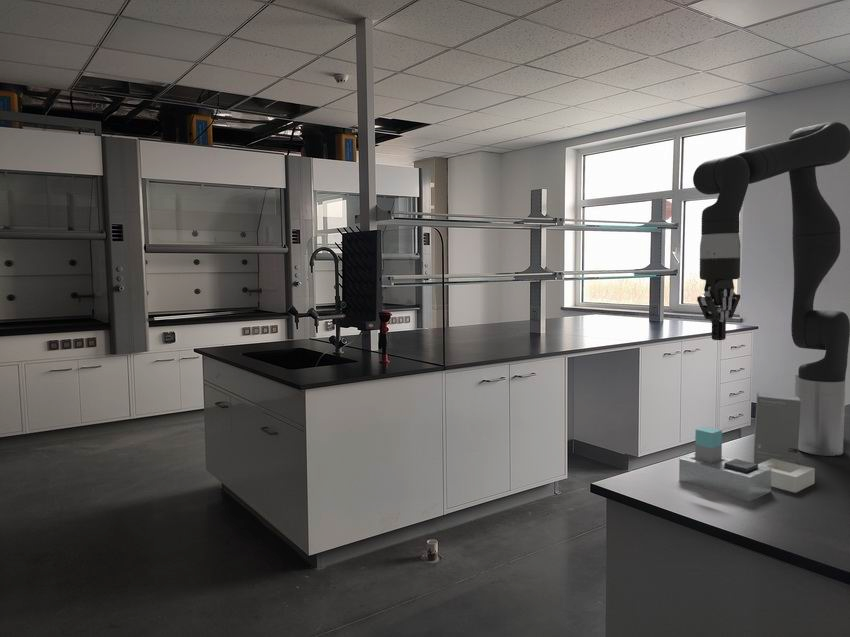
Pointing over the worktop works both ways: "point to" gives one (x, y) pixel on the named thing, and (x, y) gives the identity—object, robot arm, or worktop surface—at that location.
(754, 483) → the metal switch box
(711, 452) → the plug
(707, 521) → the worktop surface
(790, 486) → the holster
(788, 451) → the skincare box
